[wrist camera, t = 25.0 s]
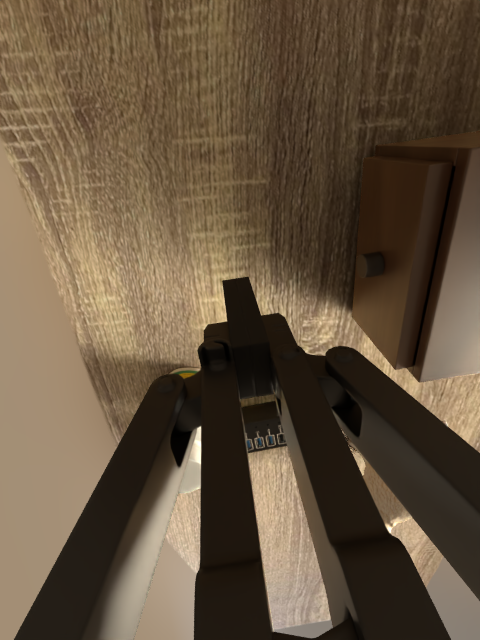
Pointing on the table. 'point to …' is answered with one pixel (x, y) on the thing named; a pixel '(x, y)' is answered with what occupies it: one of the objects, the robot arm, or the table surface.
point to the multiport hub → (263, 427)
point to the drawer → (398, 249)
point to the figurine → (384, 496)
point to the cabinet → (451, 262)
